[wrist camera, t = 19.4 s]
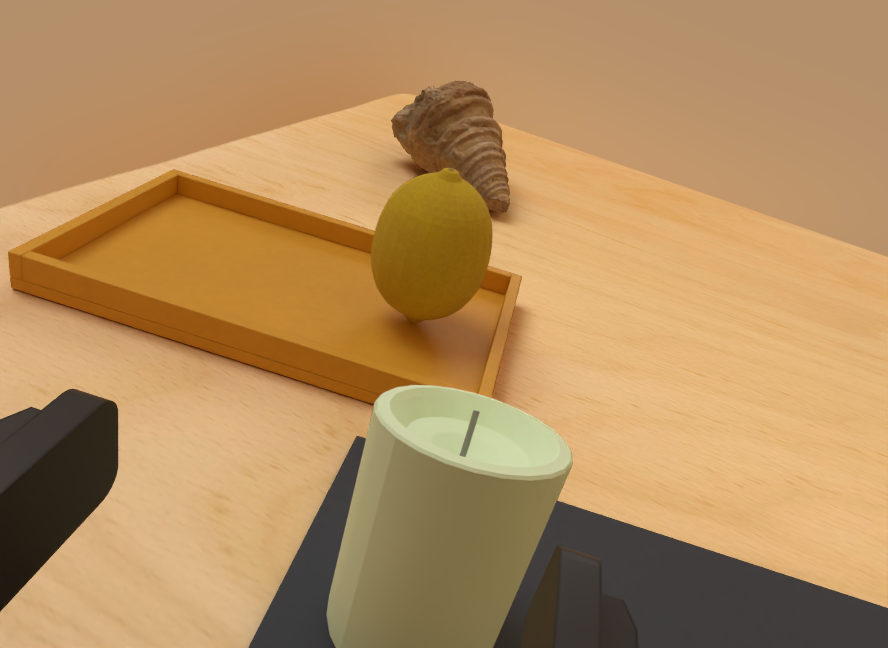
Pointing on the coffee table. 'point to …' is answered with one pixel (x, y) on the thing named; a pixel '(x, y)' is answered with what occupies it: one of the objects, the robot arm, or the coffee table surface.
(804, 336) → the coffee table surface
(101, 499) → the robot arm
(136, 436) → the coffee table surface
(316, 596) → the grey mat
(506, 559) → the candle
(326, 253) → the yellow tray
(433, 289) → the lemon
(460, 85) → the seashell
